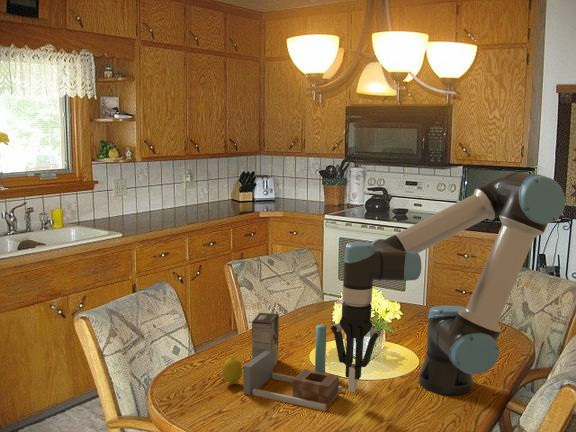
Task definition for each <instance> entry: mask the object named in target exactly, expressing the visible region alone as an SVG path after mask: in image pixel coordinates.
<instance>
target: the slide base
mask: <svg viewBox="0 0 576 432" xmlns="http://www.w3.org/2000/svg"><path fill="white" fill-rule="evenodd" d="M295 377H296V376H292V375H287V374H283V373H282V374H281V373H277V372H274V368H273V350H269V349H266V350H265V351H264V352H262V353H261V354H260V355H258V356H257V357H255V358H254V359H253V360H252V359H251V360H249V361H248V362H246V364H244V365H243V394H244V395H248V396H251V395H252V396H255V397H256V396H257V397H260V398H261V397H262V398H264V399H270V400H274V401H279V402H284V403H287V404H288V403H289V404H292V405H295V406H297V405H298V406H301V407H305V408H308V409H309V408H310V409H314V410H318V411H324V412H325V411H326V410H327V406H326V404H324V403H319V402H315V401H310V400H305V399H301V398H296V397H293V395H292V396H291V395H287V394H282V393H277V392H273V391H269V390H264V389H260V388H261V387H262V386H263V385H264V384H266V382H268V381H269V380H270V379H272V380H277V381H283V382H286V383H292V384H293V379H294V378H295ZM342 392H343V386H342V385H338V394H341V393H342Z"/></svg>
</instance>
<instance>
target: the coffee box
mask: <svg viewBox="0 0 576 432" xmlns="http://www.w3.org/2000/svg"><path fill="white" fill-rule="evenodd" d="M279 317H280V314H279V313H269V312H259V313H258V314H257V315H256V316H255V318H254V319H253V320H252V321H251V360H253V359H254V358H255V357H257V356H258V355H260V354H261V353H262V352H264V351H265V350H266V349H269V350H273V369H274V368H275V367H276V364H278V362H279V329H280V327H279Z"/></svg>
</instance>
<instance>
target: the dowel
mask: <svg viewBox="0 0 576 432" xmlns="http://www.w3.org/2000/svg"><path fill="white" fill-rule="evenodd" d="M326 352H327V325H325V324H317V325H316V326H315V354H314V355H315V357H314V359H315V360H314V361H315V362H314V363H315V364H314V371H318V372H323V373H326V358H327V355H326V354H327V353H326Z"/></svg>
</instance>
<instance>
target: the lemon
mask: <svg viewBox="0 0 576 432" xmlns="http://www.w3.org/2000/svg"><path fill="white" fill-rule="evenodd" d="M221 372H222V376H223V379H224V380H225V381H226V382H227V383H229V384H230V385H234V384H235V383H237V382H238V381H239V380H240V379H241V377H242V373H243V368H242V364H241V362H240V361H239V360H238V359H237V358H234V356H233V357H230V358H228V359H227V360H225V362H224V363H223V366H222V371H221Z"/></svg>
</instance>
